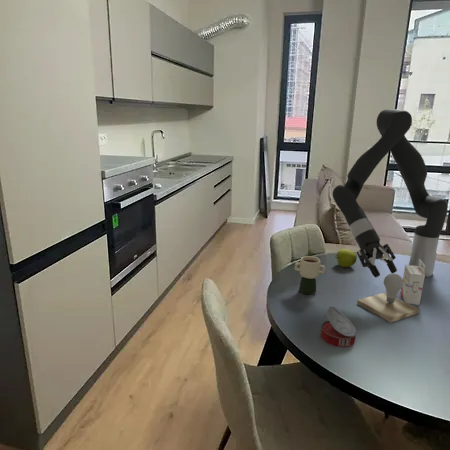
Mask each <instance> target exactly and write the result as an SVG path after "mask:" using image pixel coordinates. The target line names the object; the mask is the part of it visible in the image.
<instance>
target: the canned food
mask: <svg viewBox="0 0 450 450" xmlns="http://www.w3.org/2000/svg"><path fill="white" fill-rule="evenodd" d="M326 315H327V316H326V317H327V319H328V320H326V321H325V322H323V323H322V324H321V331H320V338H321V339H322V340H323V341H324V342H325V343H327V344H328V345H330V346H332V347H333V346H334V347H338V348H349V347H351V346H353V345H354V344H355V342H356V337H357V336H356V334H357V330H356V327H355V326H354V325H353V323H352V322H351V321H350V319H348V318H347V316H345V315H344V314H343V313H342V312H341V311H339V310H338V309H337V308H336V307H335V306H329V307H328V309H327V314H326Z"/></svg>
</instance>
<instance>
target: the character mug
mask: <svg viewBox="0 0 450 450" xmlns="http://www.w3.org/2000/svg"><path fill="white" fill-rule="evenodd" d="M298 266H299V268H298ZM321 268H322V269H321ZM294 271H296V272H299V275H300V276H301V279H300V283H299V287H298V289H299V291H300V292H301V293H303V294H307V295H311V294H312V295H313V294H315V293H316V292H317V278H318V277H319V276H320V274H322V275H324V274H325V272H326V266H325V265H323V264H321V259H320V258H319V257H317V256H311V255H306V256H302V257H300V262H298V261H296V262H295V264H294Z"/></svg>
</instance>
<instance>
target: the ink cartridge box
mask: <svg viewBox="0 0 450 450" xmlns="http://www.w3.org/2000/svg"><path fill="white" fill-rule="evenodd" d="M421 265H422V266H423V268H422V266H421ZM425 268H426V267H425V265H424V264H423V262H422V261H421V260H420V259H419V266H411V265H409V264H405V265H404V271H403V278H402V279H403V287H402V288H401V290H400V295H401V297H402V299H403V302H405V303H408V304H410V305H418V306H419V305H421V298H422V294H423V286H424V283H425V282H424V281H425V278H426V277H425Z"/></svg>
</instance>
